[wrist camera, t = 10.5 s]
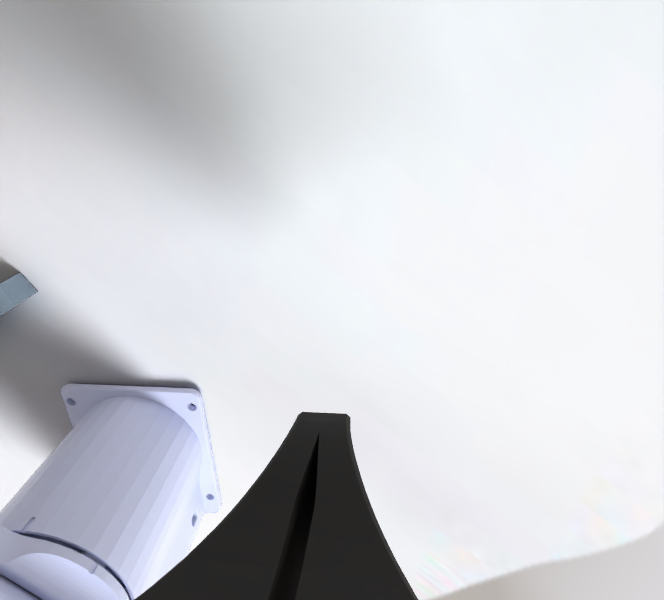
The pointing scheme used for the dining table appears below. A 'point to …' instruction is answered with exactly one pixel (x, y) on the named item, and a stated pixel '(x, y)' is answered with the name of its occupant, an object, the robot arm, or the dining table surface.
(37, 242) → the dining table surface
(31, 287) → the groove ring
